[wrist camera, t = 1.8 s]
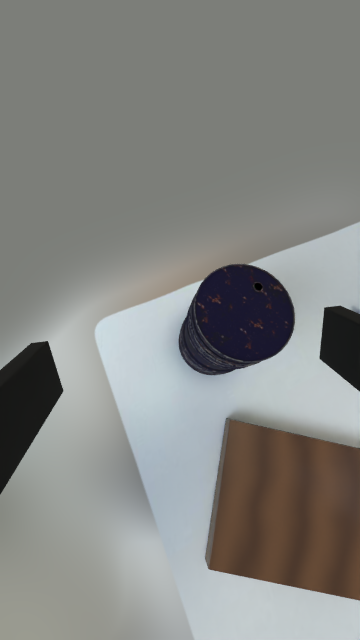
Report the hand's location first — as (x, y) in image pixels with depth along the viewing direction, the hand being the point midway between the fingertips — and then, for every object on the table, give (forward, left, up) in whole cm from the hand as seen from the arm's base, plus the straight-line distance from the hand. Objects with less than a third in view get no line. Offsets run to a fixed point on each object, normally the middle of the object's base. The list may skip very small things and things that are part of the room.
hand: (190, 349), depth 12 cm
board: (+19, -11, -25) cm, 33 cm away
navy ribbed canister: (+5, +7, -25) cm, 26 cm away
